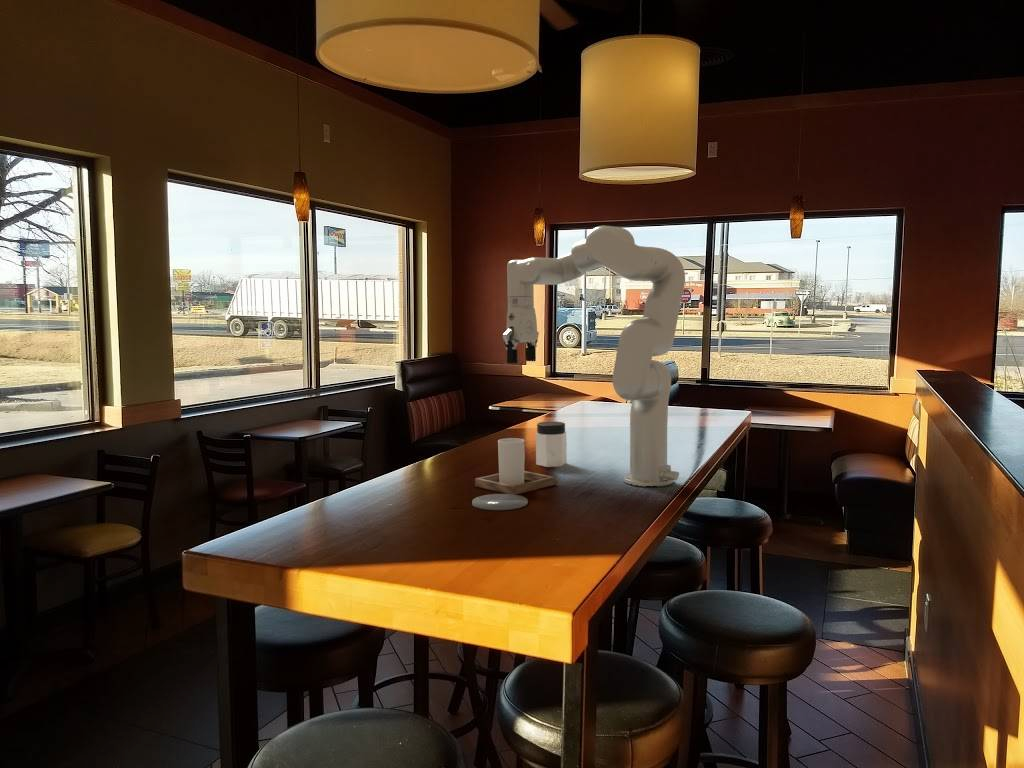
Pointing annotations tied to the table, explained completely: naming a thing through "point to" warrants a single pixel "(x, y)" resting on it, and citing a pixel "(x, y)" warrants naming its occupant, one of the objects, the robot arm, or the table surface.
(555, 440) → the jar
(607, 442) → the table surface
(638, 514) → the table surface
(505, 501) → the grey round disc
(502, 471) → the mug
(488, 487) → the corral
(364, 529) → the table surface
